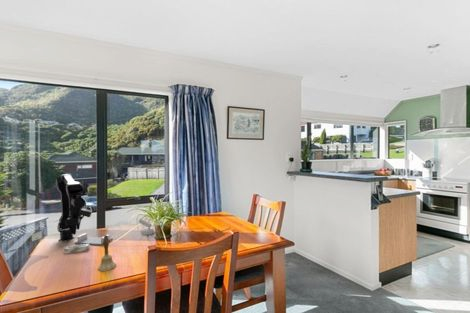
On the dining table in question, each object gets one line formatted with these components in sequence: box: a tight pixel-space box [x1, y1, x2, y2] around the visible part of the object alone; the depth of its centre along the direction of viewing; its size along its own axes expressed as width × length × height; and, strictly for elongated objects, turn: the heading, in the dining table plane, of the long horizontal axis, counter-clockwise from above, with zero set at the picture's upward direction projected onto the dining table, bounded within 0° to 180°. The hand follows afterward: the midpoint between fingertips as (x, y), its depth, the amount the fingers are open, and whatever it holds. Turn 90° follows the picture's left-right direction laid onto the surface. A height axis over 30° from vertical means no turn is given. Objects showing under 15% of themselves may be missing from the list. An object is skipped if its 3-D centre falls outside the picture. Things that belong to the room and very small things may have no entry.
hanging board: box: [74, 232, 114, 246], centre depth 170 cm, size 19×10×4 cm, turn 79°
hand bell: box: [97, 234, 117, 272], centre depth 134 cm, size 8×8×16 cm
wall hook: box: [138, 218, 155, 236], centre depth 186 cm, size 9×10×10 cm
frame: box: [63, 244, 90, 254], centre depth 156 cm, size 12×4×3 cm, turn 109°
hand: (76, 231), depth 156 cm, fingers open, 9 cm apart
